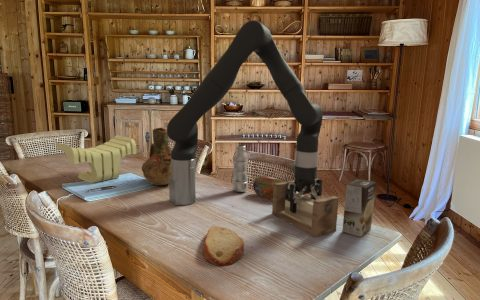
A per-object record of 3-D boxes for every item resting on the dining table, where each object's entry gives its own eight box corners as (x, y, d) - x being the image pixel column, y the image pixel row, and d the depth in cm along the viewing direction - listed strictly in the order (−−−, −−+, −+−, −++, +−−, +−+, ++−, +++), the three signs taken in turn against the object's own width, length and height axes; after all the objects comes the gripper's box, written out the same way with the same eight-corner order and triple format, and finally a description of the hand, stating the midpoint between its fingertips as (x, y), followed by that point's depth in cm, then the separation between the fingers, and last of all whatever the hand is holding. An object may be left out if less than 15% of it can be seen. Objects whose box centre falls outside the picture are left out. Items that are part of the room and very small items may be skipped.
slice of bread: (217, 229, 117) (218, 218, 116) (263, 247, 106) (264, 235, 105) (175, 249, 103) (175, 236, 102) (222, 271, 92) (223, 257, 91)
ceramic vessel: (153, 195, 147) (151, 134, 142) (135, 179, 169) (133, 125, 164) (192, 189, 156) (192, 131, 151) (170, 175, 177) (169, 124, 172)
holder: (316, 237, 112) (319, 203, 110) (271, 213, 131) (272, 183, 129) (337, 231, 117) (340, 198, 115) (290, 208, 136) (291, 180, 134)
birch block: (312, 226, 117) (313, 205, 116) (284, 212, 129) (285, 192, 127) (321, 223, 119) (322, 203, 118) (293, 210, 131) (294, 191, 129)
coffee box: (361, 237, 113) (366, 188, 110) (341, 231, 117) (345, 183, 114) (371, 228, 120) (376, 181, 117) (353, 223, 124) (357, 178, 121)
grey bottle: (246, 194, 151) (247, 147, 147) (230, 193, 153) (231, 146, 149) (249, 190, 157) (250, 144, 153) (233, 188, 159) (234, 143, 155)
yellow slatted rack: (76, 188, 153) (73, 147, 150) (58, 181, 163) (55, 142, 160) (137, 175, 176) (135, 138, 172) (118, 169, 186) (117, 134, 182)
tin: (252, 194, 152) (253, 175, 150) (256, 192, 154) (257, 173, 153) (284, 202, 143) (285, 181, 142) (288, 200, 146) (289, 180, 144)
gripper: (297, 169, 113) (294, 218, 117) (329, 164, 121) (326, 210, 124) (281, 163, 119) (279, 210, 123) (313, 159, 127) (310, 203, 130)
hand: (302, 210), depth 123 cm, fingers open, 8 cm apart
